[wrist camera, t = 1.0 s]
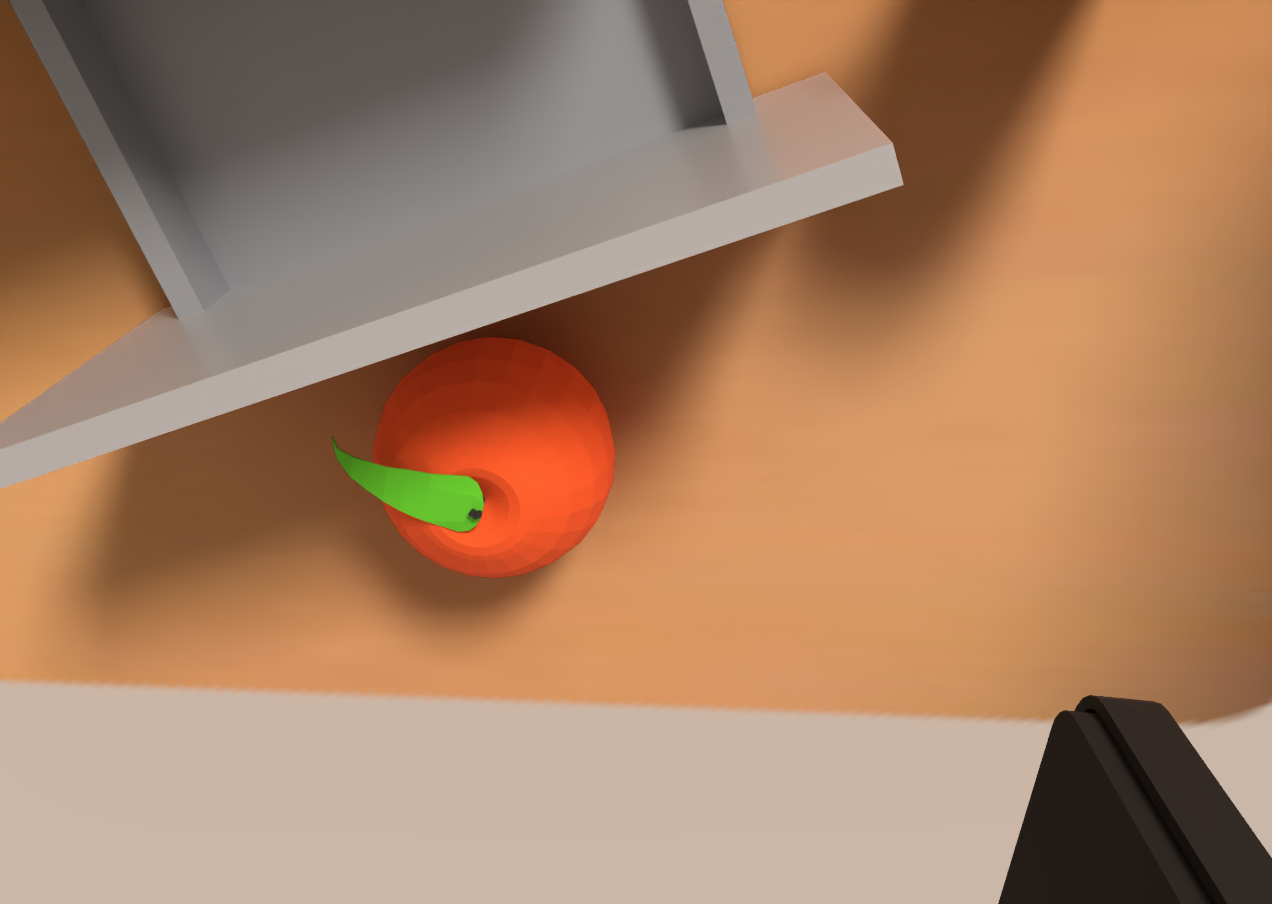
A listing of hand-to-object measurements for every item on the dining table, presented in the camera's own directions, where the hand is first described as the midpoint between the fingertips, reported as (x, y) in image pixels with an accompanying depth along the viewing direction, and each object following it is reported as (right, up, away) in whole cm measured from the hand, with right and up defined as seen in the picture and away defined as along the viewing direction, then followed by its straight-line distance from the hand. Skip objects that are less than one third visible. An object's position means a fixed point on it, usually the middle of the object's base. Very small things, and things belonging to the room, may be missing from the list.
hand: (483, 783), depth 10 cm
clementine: (-3, +4, +27) cm, 28 cm away
